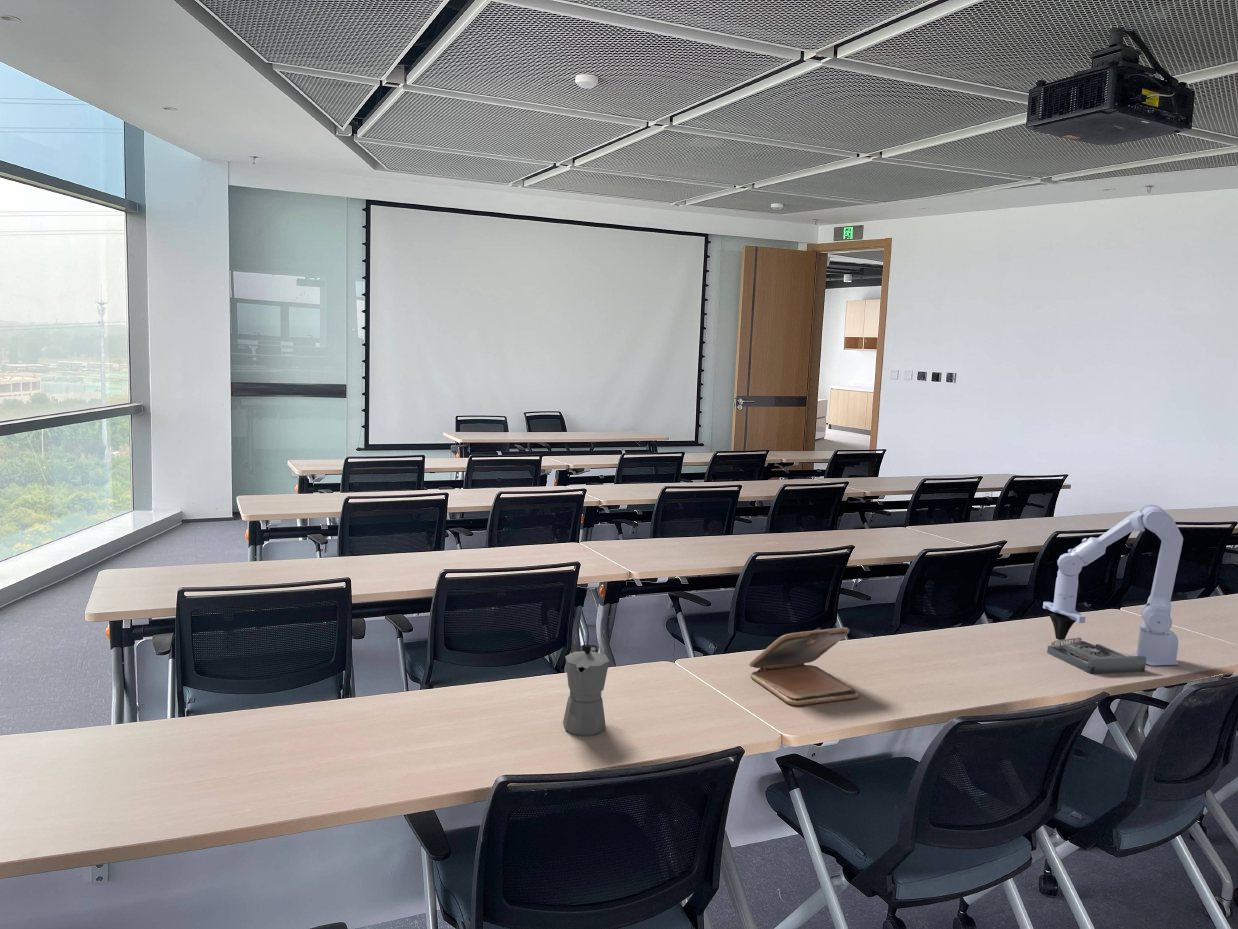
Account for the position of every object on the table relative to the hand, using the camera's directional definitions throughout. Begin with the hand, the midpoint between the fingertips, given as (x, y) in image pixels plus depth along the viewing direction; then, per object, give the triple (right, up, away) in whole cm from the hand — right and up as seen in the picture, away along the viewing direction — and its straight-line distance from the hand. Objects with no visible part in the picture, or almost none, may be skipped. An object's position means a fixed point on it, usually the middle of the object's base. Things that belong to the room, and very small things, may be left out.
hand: (1060, 639), depth 244 cm
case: (-85, -3, -40) cm, 94 cm away
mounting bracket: (+3, -4, -13) cm, 14 cm away
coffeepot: (-138, -4, -67) cm, 153 cm away
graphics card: (+3, -4, -9) cm, 11 cm away
